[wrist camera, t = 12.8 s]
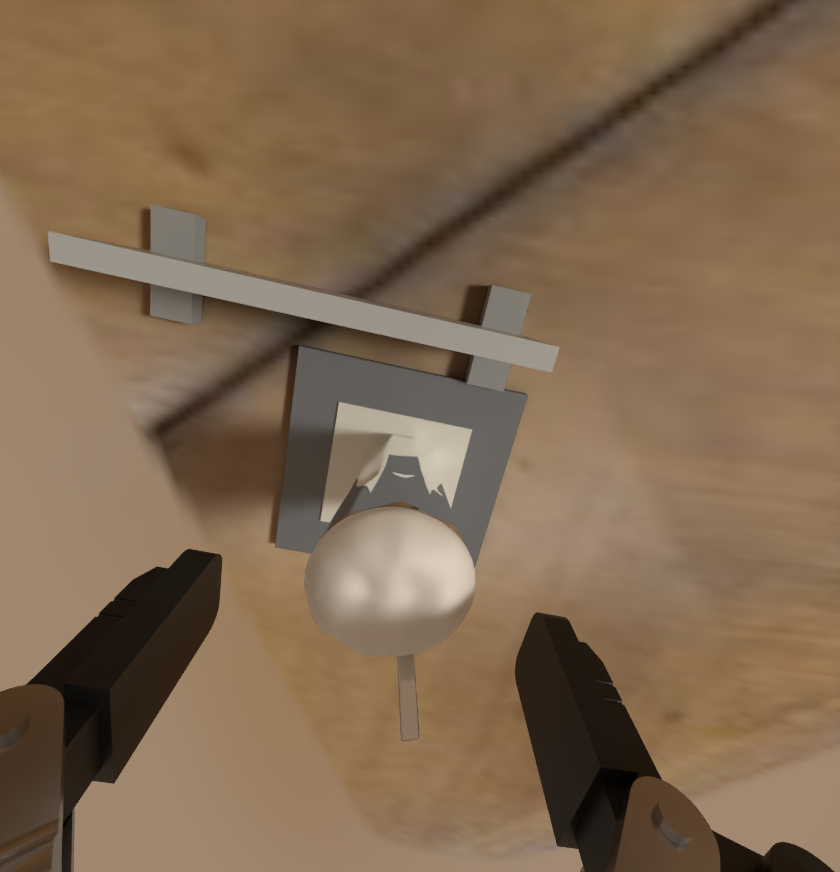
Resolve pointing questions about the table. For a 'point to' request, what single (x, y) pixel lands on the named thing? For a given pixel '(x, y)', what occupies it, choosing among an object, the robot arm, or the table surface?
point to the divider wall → (303, 298)
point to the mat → (380, 418)
